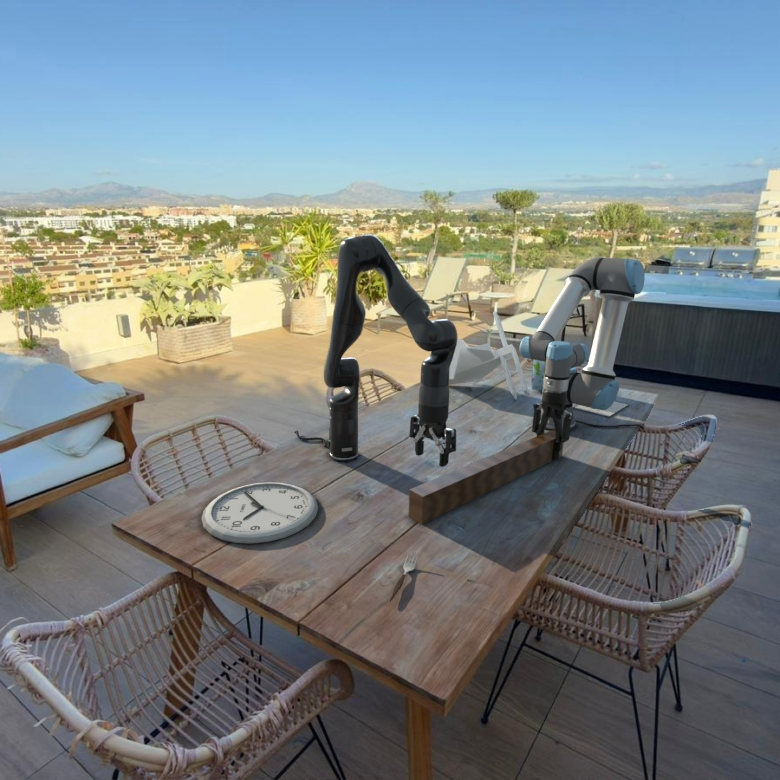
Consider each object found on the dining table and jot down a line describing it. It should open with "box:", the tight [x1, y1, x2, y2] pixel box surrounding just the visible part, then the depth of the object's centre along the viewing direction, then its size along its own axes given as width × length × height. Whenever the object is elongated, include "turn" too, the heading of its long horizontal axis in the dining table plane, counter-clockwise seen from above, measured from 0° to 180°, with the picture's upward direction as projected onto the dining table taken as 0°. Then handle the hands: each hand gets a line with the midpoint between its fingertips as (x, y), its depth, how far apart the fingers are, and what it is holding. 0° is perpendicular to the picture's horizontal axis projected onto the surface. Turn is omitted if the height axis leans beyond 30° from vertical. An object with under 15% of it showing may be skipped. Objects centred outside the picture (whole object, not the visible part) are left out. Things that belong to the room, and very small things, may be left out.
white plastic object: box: [449, 310, 531, 400], centre depth 245 cm, size 37×45×31 cm
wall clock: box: [201, 481, 319, 544], centre depth 139 cm, size 30×2×30 cm
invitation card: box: [573, 401, 629, 418], centre depth 226 cm, size 21×1×15 cm
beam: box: [408, 430, 565, 525], centre depth 156 cm, size 66×5×8 cm, turn 131°
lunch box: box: [530, 360, 546, 392], centre depth 247 cm, size 26×11×21 cm, turn 134°
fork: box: [389, 550, 419, 602], centre depth 113 cm, size 3×16×2 cm, turn 160°
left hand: (431, 460), depth 135 cm, fingers open, 8 cm apart
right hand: (547, 456), depth 175 cm, fingers closed on beam, 5 cm apart
